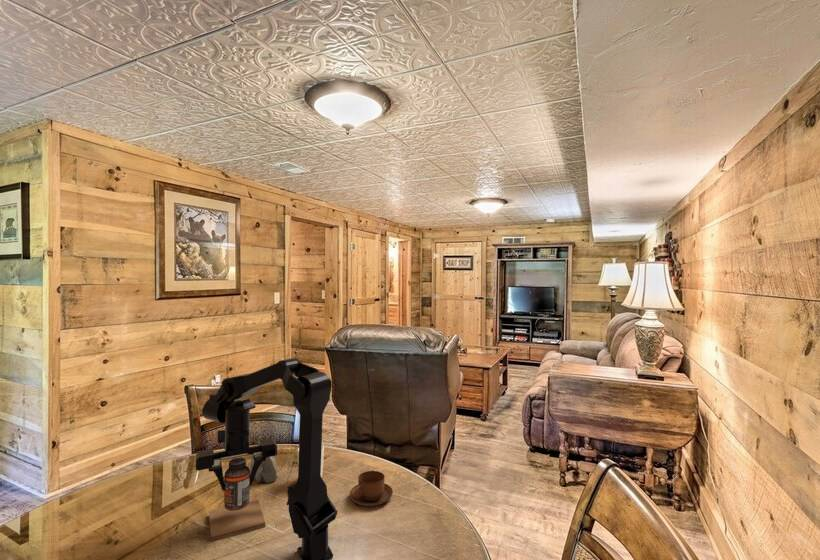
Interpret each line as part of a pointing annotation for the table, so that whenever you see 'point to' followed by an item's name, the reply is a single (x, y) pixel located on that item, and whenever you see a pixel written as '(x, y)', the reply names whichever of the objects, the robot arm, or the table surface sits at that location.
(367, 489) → the cup and saucer
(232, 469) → the supplement bottle
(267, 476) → the mineral rock
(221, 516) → the walnut base
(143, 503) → the table surface
